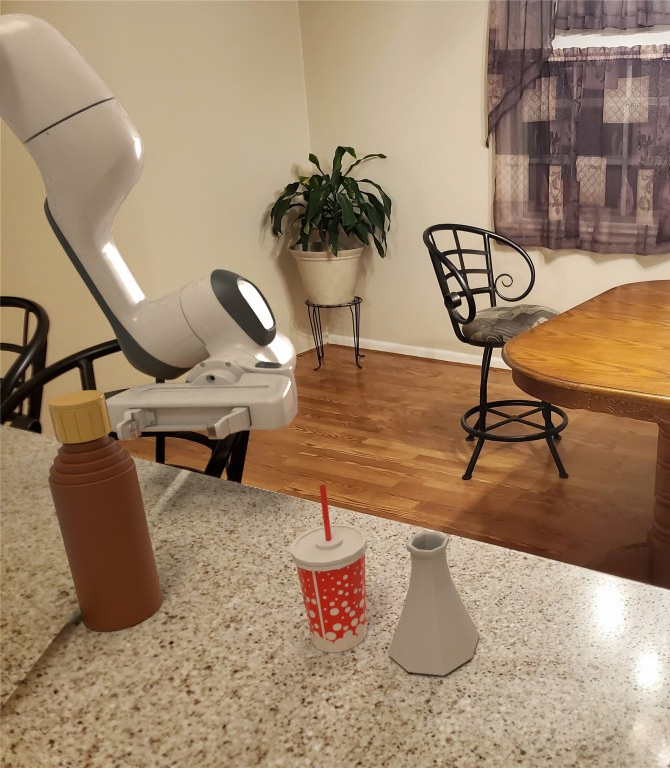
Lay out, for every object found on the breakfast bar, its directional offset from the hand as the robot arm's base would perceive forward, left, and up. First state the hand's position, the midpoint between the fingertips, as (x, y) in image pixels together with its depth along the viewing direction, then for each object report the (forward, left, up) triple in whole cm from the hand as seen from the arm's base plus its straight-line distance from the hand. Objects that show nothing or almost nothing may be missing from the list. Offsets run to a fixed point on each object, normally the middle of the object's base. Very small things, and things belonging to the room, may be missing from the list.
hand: (168, 433), depth 70 cm
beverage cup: (+18, -19, -13) cm, 29 cm away
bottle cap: (-2, -12, +5) cm, 13 cm away
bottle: (-2, -12, -13) cm, 17 cm away
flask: (+26, -22, -13) cm, 36 cm away
